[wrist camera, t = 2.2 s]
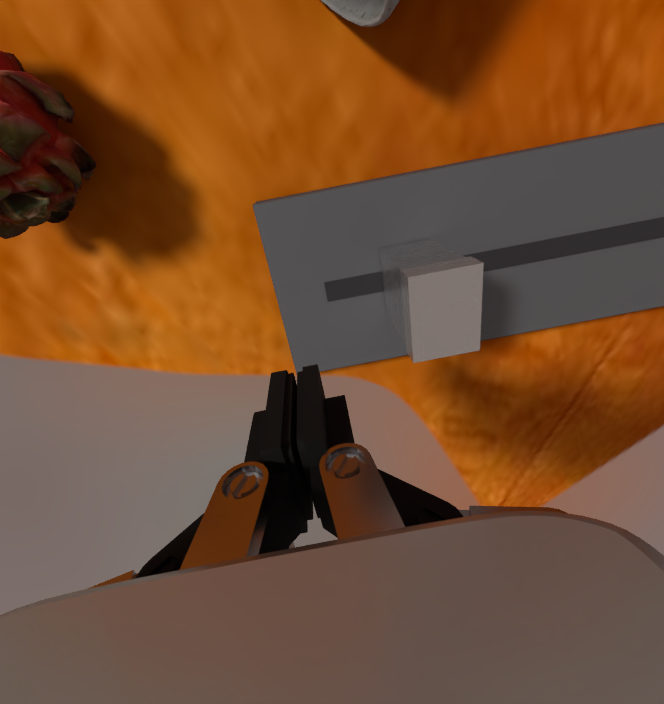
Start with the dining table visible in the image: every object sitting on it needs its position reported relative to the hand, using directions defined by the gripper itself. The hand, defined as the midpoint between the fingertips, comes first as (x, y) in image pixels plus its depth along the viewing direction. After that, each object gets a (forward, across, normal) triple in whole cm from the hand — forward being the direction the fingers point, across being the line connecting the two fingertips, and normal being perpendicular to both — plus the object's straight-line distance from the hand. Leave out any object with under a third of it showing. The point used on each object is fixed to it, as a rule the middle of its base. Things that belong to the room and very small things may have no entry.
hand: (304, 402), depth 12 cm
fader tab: (+10, -7, -1) cm, 12 cm away
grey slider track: (+12, -17, -1) cm, 21 cm away
